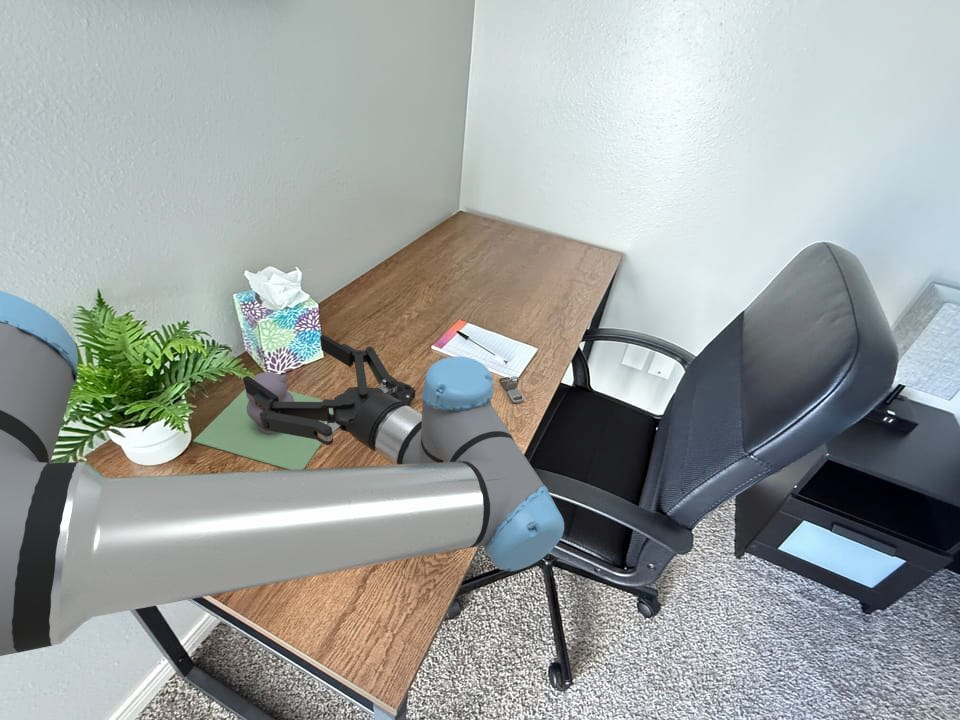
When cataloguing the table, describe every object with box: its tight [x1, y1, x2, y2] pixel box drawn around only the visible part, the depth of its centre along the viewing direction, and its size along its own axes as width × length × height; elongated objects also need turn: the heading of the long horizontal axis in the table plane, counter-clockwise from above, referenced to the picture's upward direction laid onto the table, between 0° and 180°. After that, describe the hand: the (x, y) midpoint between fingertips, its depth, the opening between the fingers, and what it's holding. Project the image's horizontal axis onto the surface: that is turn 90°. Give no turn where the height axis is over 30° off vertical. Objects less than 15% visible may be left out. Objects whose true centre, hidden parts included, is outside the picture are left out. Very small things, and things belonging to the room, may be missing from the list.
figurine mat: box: [192, 389, 333, 470], centre depth 92 cm, size 22×18×1 cm
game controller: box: [393, 380, 416, 406], centre depth 100 cm, size 10×5×6 cm
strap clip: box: [498, 375, 525, 404], centre depth 106 cm, size 8×3×4 cm, turn 21°
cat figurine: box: [243, 371, 294, 435], centre depth 88 cm, size 9×8×12 cm
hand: (287, 361), depth 71 cm, fingers open, 13 cm apart
